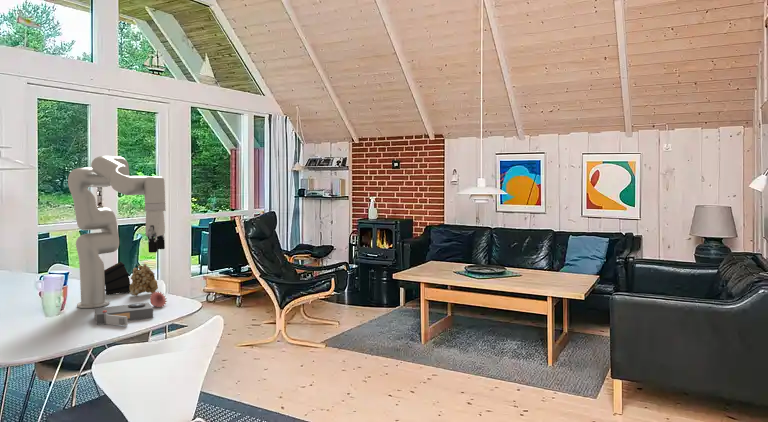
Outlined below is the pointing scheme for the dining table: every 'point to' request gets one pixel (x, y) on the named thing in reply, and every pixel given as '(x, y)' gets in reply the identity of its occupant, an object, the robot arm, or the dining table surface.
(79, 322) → the dining table surface
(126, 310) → the camera body
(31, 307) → the dining table surface
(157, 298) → the flower
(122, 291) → the black ridged block
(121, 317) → the port door
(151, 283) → the mineral formation
